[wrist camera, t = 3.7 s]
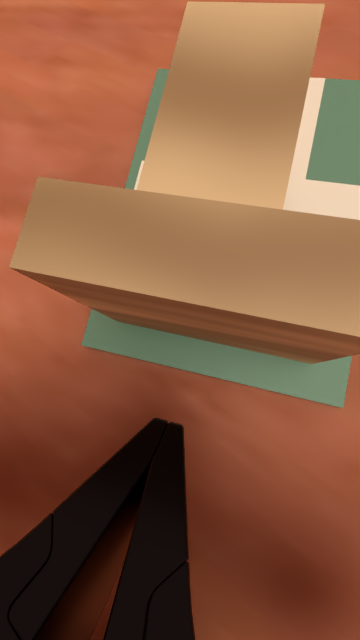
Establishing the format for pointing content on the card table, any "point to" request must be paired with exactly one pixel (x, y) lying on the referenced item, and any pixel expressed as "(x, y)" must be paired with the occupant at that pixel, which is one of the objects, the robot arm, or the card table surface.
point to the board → (302, 196)
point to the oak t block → (212, 204)
